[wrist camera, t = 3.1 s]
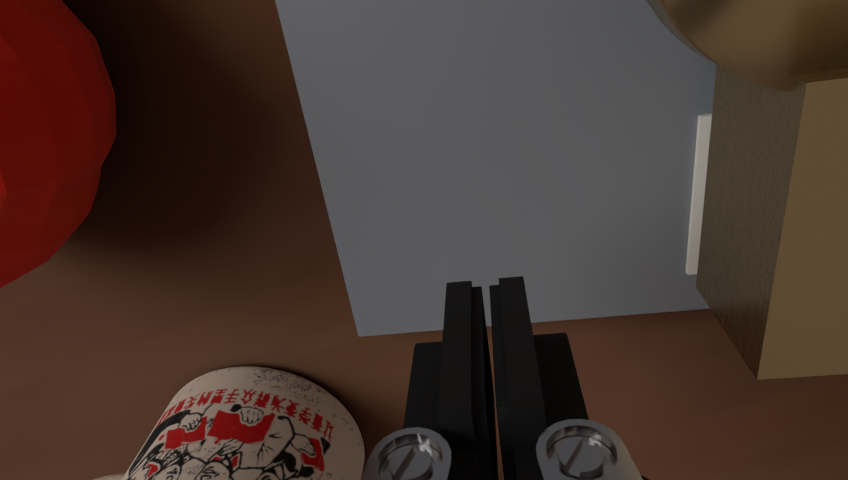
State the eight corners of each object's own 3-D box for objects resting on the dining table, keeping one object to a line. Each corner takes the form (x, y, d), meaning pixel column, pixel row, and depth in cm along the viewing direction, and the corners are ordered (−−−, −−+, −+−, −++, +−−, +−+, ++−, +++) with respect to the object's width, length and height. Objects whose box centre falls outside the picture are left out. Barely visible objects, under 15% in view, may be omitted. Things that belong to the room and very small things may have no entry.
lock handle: (599, -351, 11) (672, -505, 7) (1084, -458, 10) (1473, -704, 6) (599, 295, 17) (637, 393, 14) (884, 271, 16) (1009, 369, 13)
